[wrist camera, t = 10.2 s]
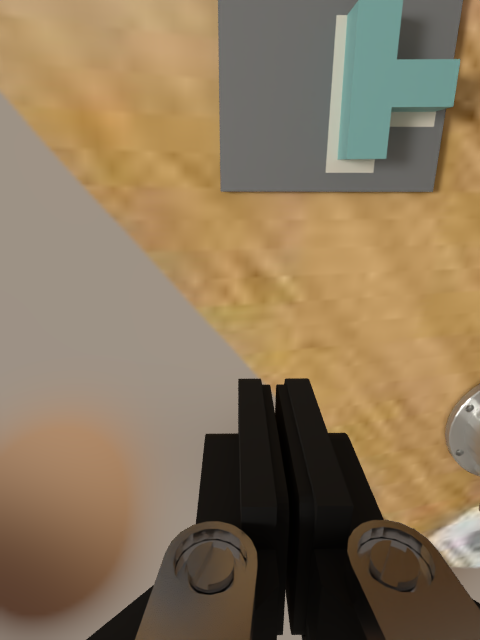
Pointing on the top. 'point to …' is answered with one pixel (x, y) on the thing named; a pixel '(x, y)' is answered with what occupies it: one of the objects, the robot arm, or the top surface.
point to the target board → (317, 97)
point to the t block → (385, 80)
